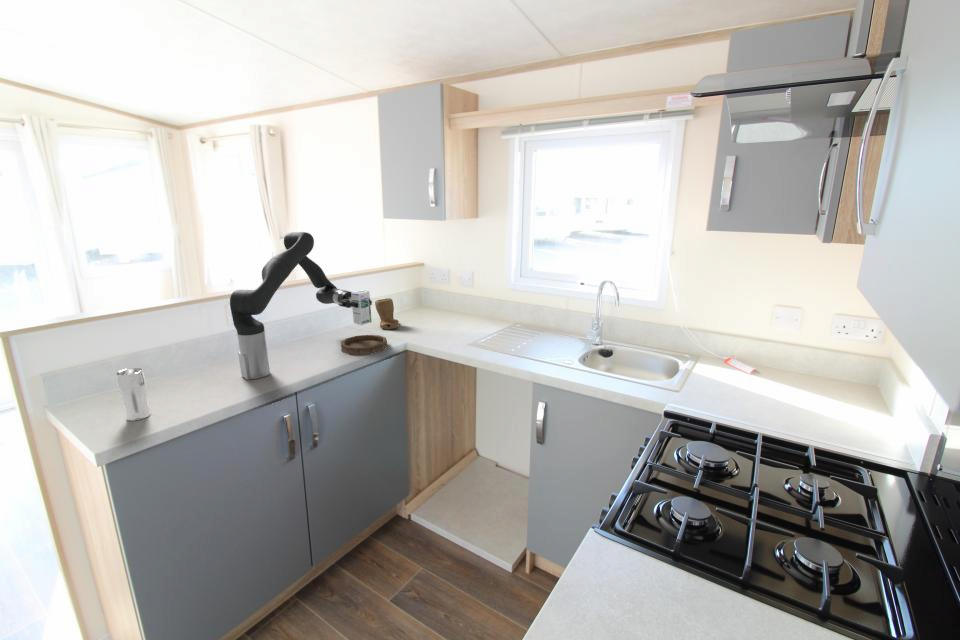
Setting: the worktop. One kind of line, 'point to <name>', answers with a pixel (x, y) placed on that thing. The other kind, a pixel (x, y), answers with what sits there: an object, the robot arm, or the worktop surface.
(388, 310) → the tan boot
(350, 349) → the round tray
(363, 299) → the syrup box
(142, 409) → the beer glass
